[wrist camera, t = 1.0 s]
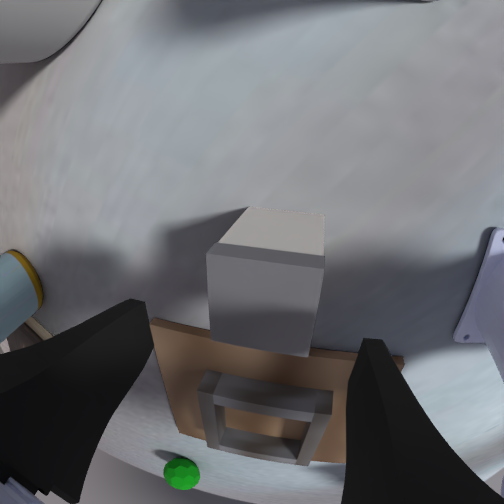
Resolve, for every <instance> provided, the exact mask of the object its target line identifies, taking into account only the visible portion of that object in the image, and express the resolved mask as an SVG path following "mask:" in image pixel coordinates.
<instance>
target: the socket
mask: <svg viewBox="0 0 504 504" xmlns="http://www.w3.org/2000/svg"><path fill="white" fill-rule="evenodd" d="M150 329H151V333H152V337H153V342H154V347H155V352H156V356H157V359H158V363H159V367H160V371H161V375H162V378H163V382H164V385H165V389H166V392H167V396H168V399H169V402H170V405H171V409H172V412H173V415H174V418H175V421H176V424H177V427H178V430H179V433H182V434H185V435H188V436H192V437H195V438H198V439H202V440H205V441H206V442H207V446H208V447H209V448H213V449H217V450H221V451H225V452H229V453H233V454H238V455H242V456H247V457H252V458H257V459H262V460H268V461H274V462H280V463H287V464H294V465H302V466H308V465H309V463H310V461H320V462H332V463H346V399H347V387H348V380H349V377H350V375H351V372H352V370H353V367H354V364H355V361H356V359H357V356H358V353H352V352H343V351H334V350H325V349H317V348H310V350H309V355H308V357H300V356H294V355H287V354H281V353H274V352H268V351H262V350H257V349H251V348H246V347H241V346H235V345H230V344H225V343H220V342H216V341H211V333H210V330H205V329H201V328H196V327H191V326H187V325H182V324H178V323H174V322H170V321H165V320H161V319H157V318H154V319H153V320H152V321H151V322H150ZM392 358H393V360H394V361H395V363H396V365H397V367H398V368H399V370H400V372H401V371H402V369H403V367H404V365H405V364H404V359H403V357H401V356H392Z"/></svg>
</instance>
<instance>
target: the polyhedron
mask: <svg viewBox="0 0 504 504" xmlns="http://www.w3.org/2000/svg"><path fill="white" fill-rule="evenodd" d="M164 477H165V480H166V481H167V482H168V484H169V485H171V486H172V487H174V488H176V489H180V490H187V489H190V488H192V487H194V486H195V485H196V484H197V483H198V482H199V479H200V472H199V469H198V467H197V466H196V465H195V464H194V463H193V462H192V461H190V460H189V459H185V458H175V459H173V460H171V461H170V462H168V463H167V464H166V465H165V468H164Z"/></svg>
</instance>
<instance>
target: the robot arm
mask: <svg viewBox="0 0 504 504" xmlns="http://www.w3.org/2000/svg"><path fill="white" fill-rule="evenodd" d="M503 237H504V229H502V228H496V229H494V230H493V232H492V234H491V237H490V240H489V244H488V247H487V250H486V253H485V257H484V260H483V263H482V266H481V269H480V272H479V274H478V277H477V280H476V283H475V285H474V288H473V290H472V293H471V295H470V298H469V300H468V303H467V305H466V308H465V310H464V312H463V315H462V317H461V319H460V321H459V323H458V326H457V328H456V330H455V332H454V334H453V338H454V340H455V342H459V343H486V344H487V346H488V348H489V351H490V353H491V355H492V357H493V359H494V361H495V363H496V366H497V368H498V370H499V372H500V375H501V377H502V379H503V382H504V240H503V241H502V239H503ZM465 335H466V336H465ZM464 336H465V337H464ZM153 347H154V342H153V337H152V333H151V329H150V324H149V320H148V315H147V310H146V305H145V302H143V301H139V300H135V299H128V300H126V301H124V302H122V303H119V304H117V305H115V306H113V307H111V308H109V309H108V310H106V311H104V312H102V313H100V314H98V315H96V316H94V317H92V318H90V319H88V320H86V321H84V322H83V323H81V324H79V325H77V326H75V327H72V328H70V329H68V330H66V331H64V332H62V333H60V334H58V335H56V336H54V337H51V338H49V339H46V340H44V341H42V342H39V343H36V344H33V345H31V346H28V347H25V348H21V349H18V350H14V351H11V352H7V353H4V354H0V504H44V503H43V502H42V501H40V500H39V499H38V498H37V497H36V496H34V495H35V494H36V492H37V491H38V490H39V491H40V492H41V493H43V494H44V495H46V496H47V495H48V494H49V492H50V491H52V492H53V493H55V494H56V495H58V496H59V497H61V498H62V499H64V500H65V501H67V502H68V503H70V504H76V503H78V502H79V500H80V495H81V492H82V488H83V484H84V481H85V477H86V474H87V471H88V468H89V465H90V463H91V460H92V457H93V455H94V453H95V450H96V448H97V445H98V443H99V441H100V439H101V436H102V434H103V432H104V430H105V428H106V426H107V424H108V422H109V420H110V419H111V417H112V415H113V413H114V412H115V410H116V409H117V407H118V406H119V404H120V403H121V401H122V400H123V398H124V397H125V395H126V394H127V392H128V391H129V389H130V388H131V386H132V385H133V383H134V382H135V380H136V379H137V377H138V376H139V374H140V373H141V371H142V370H143V368H144V366H145V364H146V362H147V360H148V358H149V356H150V354H151V352H152V349H153ZM341 504H504V477H503V480H502V487H501V496H500V495H499V494H498V493H496V492H495V491H494V490H492V489H491V488H490V487H489V486H488V485H487V484H486V483H485V482H484V481H482V480H481V479H480V478H479V477H478V476H477V475H476V474H475V473H474V472H473V471H472V470H471V469H470V468H469V467H468V466H467V465H466V464H465V463H464V461H463V460H462V459H461V458H460V457H459V456H458V455H457V454H456V453H455V452H454V450H453V449H452V448H451V447H450V446H449V444H448V443H447V442H446V441H445V439H444V438H443V437H442V435H441V434H440V433H439V432H438V430H437V429H436V428H435V426H434V425H433V423H432V422H431V421H430V419H429V418H428V416H427V415H426V413H425V412H424V410H423V408H422V407H421V405H420V404H419V402H418V401H417V399H416V397H415V396H414V394H413V392H412V391H411V389H410V387H409V386H408V384H407V382H406V381H405V379H404V377H403V376H402V374H401V372H400V370H399V368H398V367H397V365H396V363H395V361H394V360H393V358H392V356H391V354H390V352H389V350H388V349H387V347H386V345H385V343H384V342H383V340H378V339H368V338H363V341H362V344H361V347H360V350H359V353H358V356H357V359H356V361H355V364H354V367H353V370H352V372H351V375H350V377H349V380H348V387H347V399H346V473H345V483H344V489H343V495H342V501H341Z"/></svg>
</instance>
